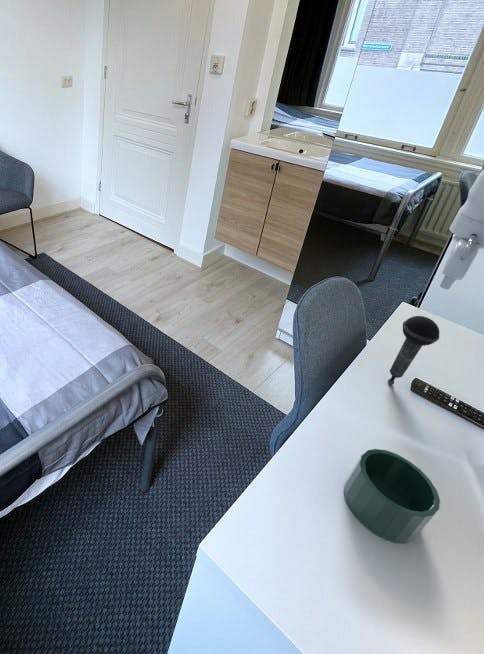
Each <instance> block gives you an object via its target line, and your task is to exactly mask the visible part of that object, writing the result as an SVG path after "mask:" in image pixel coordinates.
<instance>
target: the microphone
mask: <svg viewBox="0 0 484 654" xmlns="http://www.w3.org/2000/svg"><path fill="white" fill-rule="evenodd" d="M402 333H403V336H405V339H404V341H403V343H402V345H401V347H400V348H399V351H398V353H397V355H396V357H395V359H394V361H393V363H392V365H391V367H390V369H389V373H390V375H391V378H389V379H387V383H388V384H389V385H392V386H393V385H394V384H395V380H396V379H398V378H402V377H403V376H404V374H405V373H406V372H407V370H408V368H409V367H410V366H411V364H412V362H413V361H414V359H415V358H416V356H417V355H418V353H419V352H420V351H421V349H422V347H424V346H430V345H432V344H434V343H435V342H437V341H440V340H439V339H440V333H441V332H440V329H439V325H438V324H437V323H436V322H435V321H434V320H433V319H432V318H430V317H426V316H423V315H414V316H411V317H408V318H407V319H406V320H404V321H403V322H402Z"/></svg>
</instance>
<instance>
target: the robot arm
mask: <svg viewBox="0 0 484 654" xmlns="http://www.w3.org/2000/svg"><path fill="white" fill-rule="evenodd" d="M449 231H450V232H451V233H452V234H453V235H452V236H451V237H452V239H453V240H454V243H453V248H452V250H451V252H450V254H449V256H448V259H447V261H446V263H445V265H444V267H443V269H442V275H444V276H443V278H442V281H441V282H440V284H439V287H440V288H442V289H444V290H446V291H447V290H450V289H451V287H452V285H453V284H454V283H455V281H461V280H463V279H464V277H466V275H467V272H469V270H470V268H471V266H472V264H473V263H474V260H475V259H476V258H477V255H478V253H479V250H484V168H483V169H482V170H481V172H480V173H479V175H478V176H477V178H476V179H475V180H474V182H473V184H472V186H471V188H470V189H469V191H468V193H467V198H466V201H465V202H464V204H463V205H462V206H461V207H460V208H459V210H458V212H457V213H456V215H455V217H454V219H453V221H452V223H451V224H450V226H449Z"/></svg>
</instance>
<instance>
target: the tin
mask: <svg viewBox="0 0 484 654" xmlns="http://www.w3.org/2000/svg"><path fill="white" fill-rule="evenodd" d="M343 496H344V499H345V502H346V504H347V507H348V508H349V510H350V511H351V513H352V514H353V515H354V517H355V518H356V519H357V521H358V522H360V523H361V524H362V525H363V526H364V527H365V528H366V529H367V530H368V531H370V532H372V533H373V534H374V535H376V536H378V537H380V538H381V539H383V540H385V541H389V542H392V543H394V544H408V543H411V542H413V541H414V540H415V539H416V538H418V536H419V534H421V533H422V531H423V530H424V529H425V527H426V526H427V525H428V523H429V522H431V520H432V519H433V518H434V517H435V515H436V514H437V513H438V511H439V510H440V507H441V498H440V496H439V492H438V490H437V488H436V487H435V485H434V484H433V482H432V480H431V479H430V478H429V476H427V475H426V474H425V473H424V472H423V471H422V470H421V469H420V468H419V467H418V466H416V464H414V463H413V462H411V461H410V460H409V459H407V458H405V457H404V456H401V455H400V454H397V453H395V452H392V451H390V450H387V449H381V448H380V449H379V448H373V449H367V450H365V451H364V452H363V453H362V454H361V455H360V457H359V459H358V460H357V462H356V464H355V465H354V467H353V469H352V470H351V472H350V474H349V475H348V477H347V479H346V481H345V482H344V486H343Z"/></svg>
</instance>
